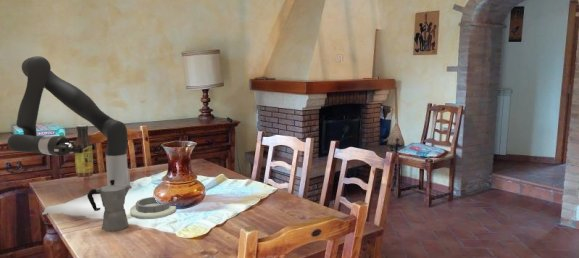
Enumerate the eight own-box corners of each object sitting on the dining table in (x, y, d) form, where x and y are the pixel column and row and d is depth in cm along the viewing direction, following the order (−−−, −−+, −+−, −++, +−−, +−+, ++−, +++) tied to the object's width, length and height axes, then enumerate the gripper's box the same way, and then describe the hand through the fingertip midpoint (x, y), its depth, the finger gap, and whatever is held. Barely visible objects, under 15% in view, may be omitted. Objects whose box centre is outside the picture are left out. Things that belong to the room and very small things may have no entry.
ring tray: (150, 201, 198) (150, 193, 198) (184, 207, 191) (184, 198, 190) (120, 215, 182) (119, 205, 181) (156, 221, 175) (155, 211, 174)
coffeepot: (130, 219, 177) (127, 174, 174) (136, 227, 169) (133, 180, 166) (87, 227, 169) (84, 180, 166) (92, 236, 161) (88, 186, 158)
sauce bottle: (88, 178, 174) (84, 127, 171) (72, 177, 175) (68, 126, 172) (97, 173, 181) (93, 124, 177) (82, 173, 181) (78, 124, 178)
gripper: (38, 139, 173) (73, 142, 168) (67, 133, 187) (101, 135, 182) (40, 158, 175) (75, 162, 169) (68, 151, 188) (102, 154, 183)
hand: (88, 148), depth 176 cm, fingers closed on sauce bottle, 6 cm apart
